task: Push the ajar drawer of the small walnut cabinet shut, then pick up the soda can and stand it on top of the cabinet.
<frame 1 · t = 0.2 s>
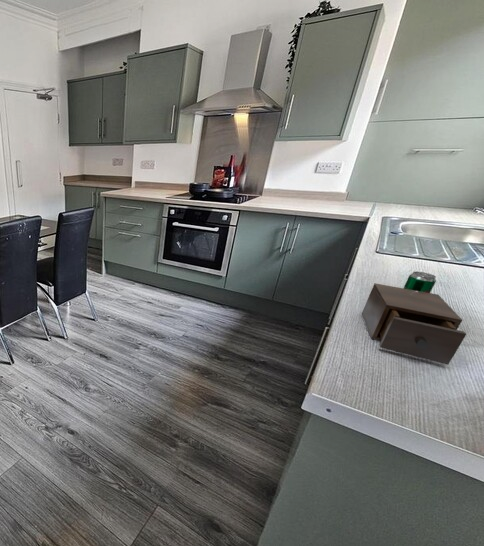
cabinet: (397, 332, 79), on the worktop
drawer: (412, 328, 72), point 5 cm above the worktop, slide at 4.0 cm
soda can: (404, 313, 88), on the worktop
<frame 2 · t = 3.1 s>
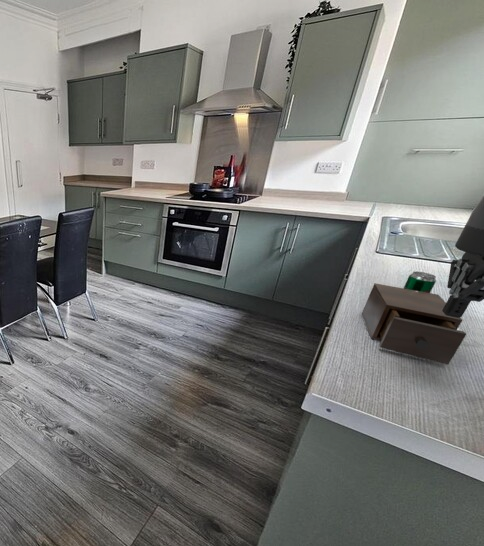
hand: (450, 314, 59), 14 cm above the worktop, tool pointing down, fingers closed
nothing on the worktop moved.
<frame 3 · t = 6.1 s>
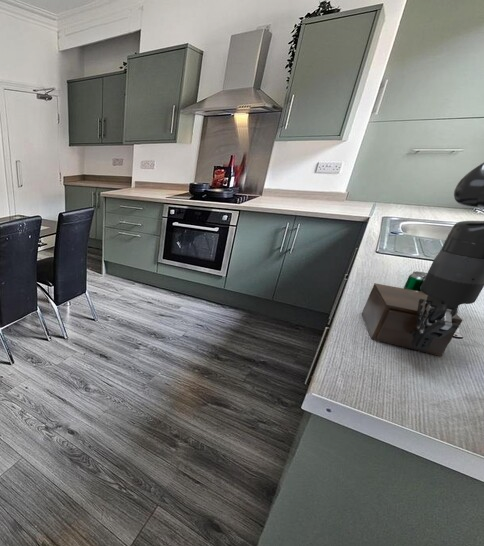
hand: (418, 347, 68), 3 cm above the worktop, tool pointing down, fingers closed
drawer: (407, 320, 75), point 5 cm above the worktop, slide at 0.0 cm, touching cabinet, hand
everything else where it was.
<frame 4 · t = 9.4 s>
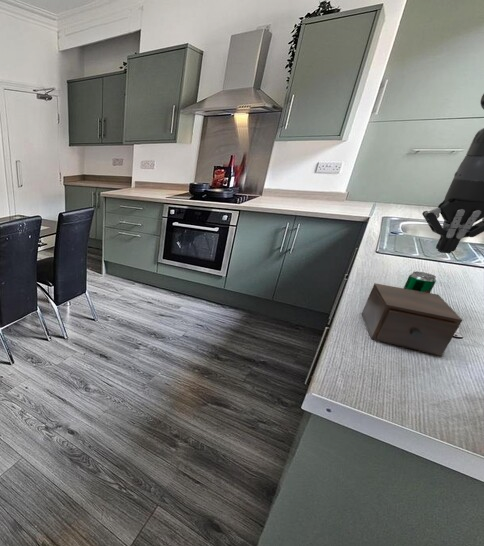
hand: (443, 252, 75), 20 cm above the worktop, tool pointing down, fingers closed
drawer: (407, 320, 75), point 5 cm above the worktop, slide at 0.0 cm, touching cabinet
everything else where it was.
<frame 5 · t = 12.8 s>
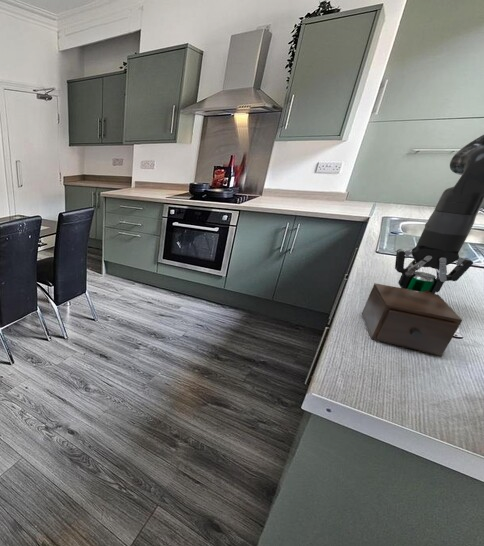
hand: (416, 289, 85), 7 cm above the worktop, tool pointing down, fingers closed on soda can, 5 cm apart
soda can: (405, 313, 88), on the worktop, touching gripper
everything else where it was.
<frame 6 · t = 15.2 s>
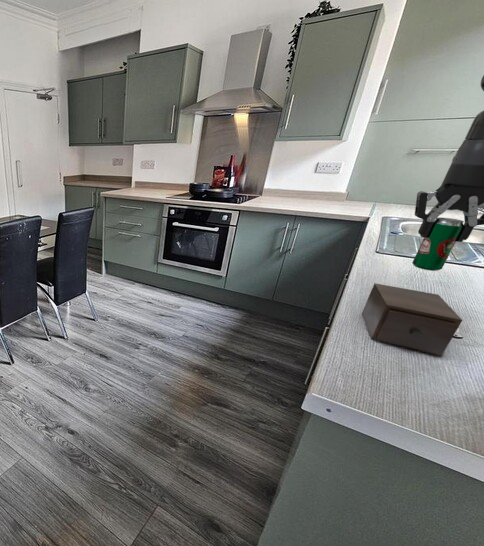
hand: (440, 238, 73), 24 cm above the worktop, tool pointing down, fingers closed on soda can, 5 cm apart
soda can: (425, 268, 76), point 16 cm above the worktop, touching gripper
everything else where it was.
when the fingers open (17 cm above the worktop, at t = 17.9 s): soda can stays where it is, resting on cabinet.
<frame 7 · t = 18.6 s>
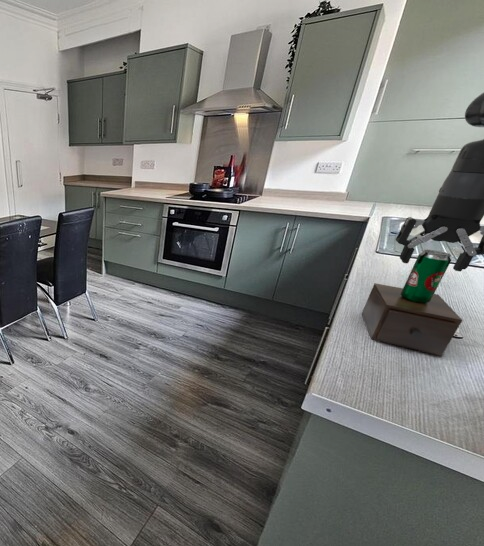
hand: (429, 266, 71), 18 cm above the worktop, tool pointing down, fingers open, 8 cm apart
soda can: (413, 300, 75), point 9 cm above the worktop, touching cabinet
everything else where it was.
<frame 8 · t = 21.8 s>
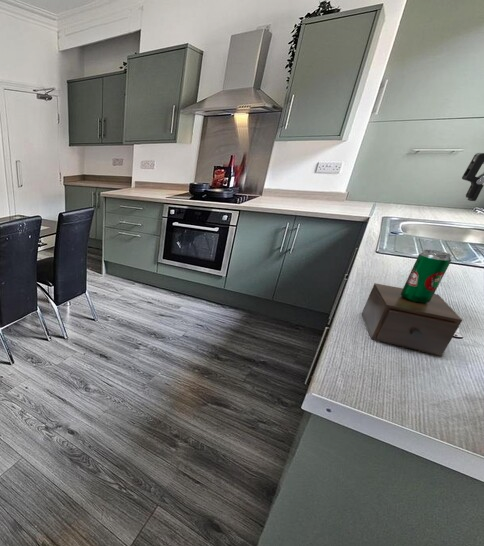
nothing on the worktop moved.
at the end: drawer slide at 0.0 cm; soda can inside the target area on the cabinet (0.1 cm from its centre), point 9.4 cm above the cabinet's base; soda can tilted 0° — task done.
